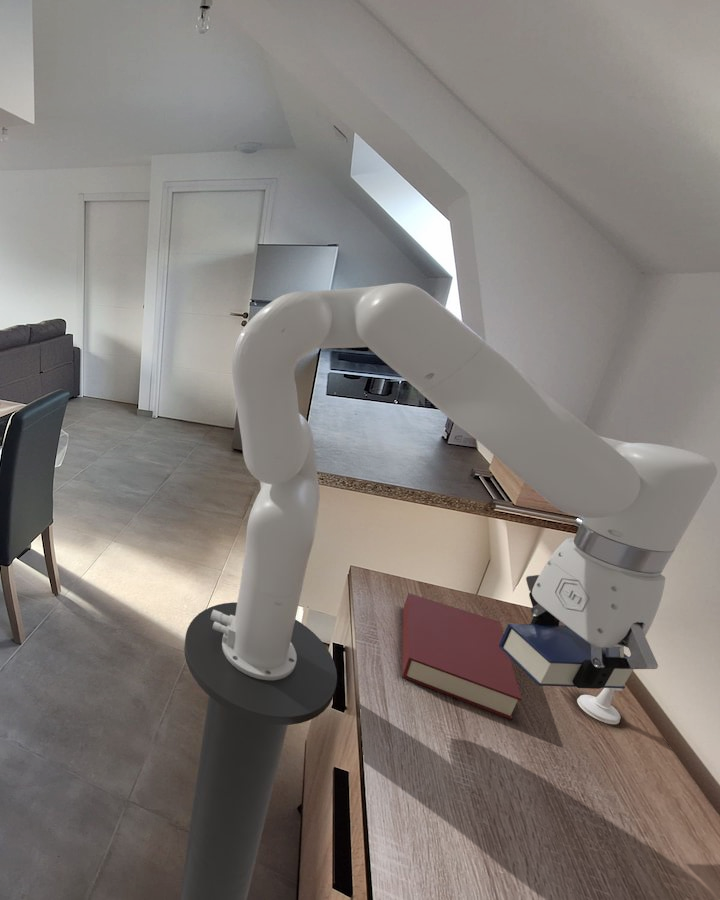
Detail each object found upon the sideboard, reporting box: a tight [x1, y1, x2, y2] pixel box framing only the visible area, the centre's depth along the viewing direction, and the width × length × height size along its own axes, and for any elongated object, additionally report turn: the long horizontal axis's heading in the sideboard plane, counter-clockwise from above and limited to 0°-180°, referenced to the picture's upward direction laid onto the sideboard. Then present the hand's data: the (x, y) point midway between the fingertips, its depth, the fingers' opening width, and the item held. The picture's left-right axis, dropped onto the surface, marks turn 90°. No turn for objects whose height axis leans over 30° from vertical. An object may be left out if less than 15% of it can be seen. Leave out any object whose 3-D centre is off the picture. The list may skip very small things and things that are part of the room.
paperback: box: [499, 623, 634, 690], centre depth 59 cm, size 11×6×4 cm, turn 90°
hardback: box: [401, 593, 523, 721], centre depth 82 cm, size 20×15×4 cm
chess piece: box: [576, 688, 623, 725], centre depth 71 cm, size 5×5×10 cm
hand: (560, 662), depth 60 cm, fingers closed on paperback, 6 cm apart
